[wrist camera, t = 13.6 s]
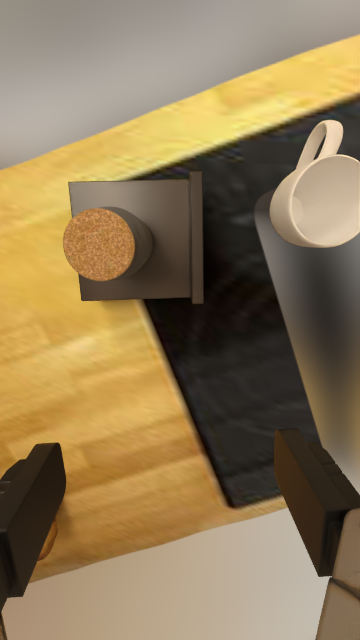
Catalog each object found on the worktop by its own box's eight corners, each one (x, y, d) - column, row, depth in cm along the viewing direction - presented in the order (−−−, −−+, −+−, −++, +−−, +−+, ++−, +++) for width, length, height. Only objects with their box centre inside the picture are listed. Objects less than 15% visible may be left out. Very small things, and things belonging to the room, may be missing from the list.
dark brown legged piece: (91, 293, 41) (71, 308, 32) (81, 189, 38) (54, 174, 29) (195, 290, 42) (203, 304, 33) (194, 186, 38) (202, 171, 30)
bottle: (106, 272, 36) (65, 295, 21) (96, 219, 34) (44, 204, 20) (157, 265, 36) (149, 283, 21) (149, 212, 34) (135, 192, 20)
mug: (313, 247, 41) (367, 250, 30) (251, 244, 40) (283, 246, 29) (328, 147, 38) (394, 109, 27) (261, 142, 38) (301, 102, 26)
